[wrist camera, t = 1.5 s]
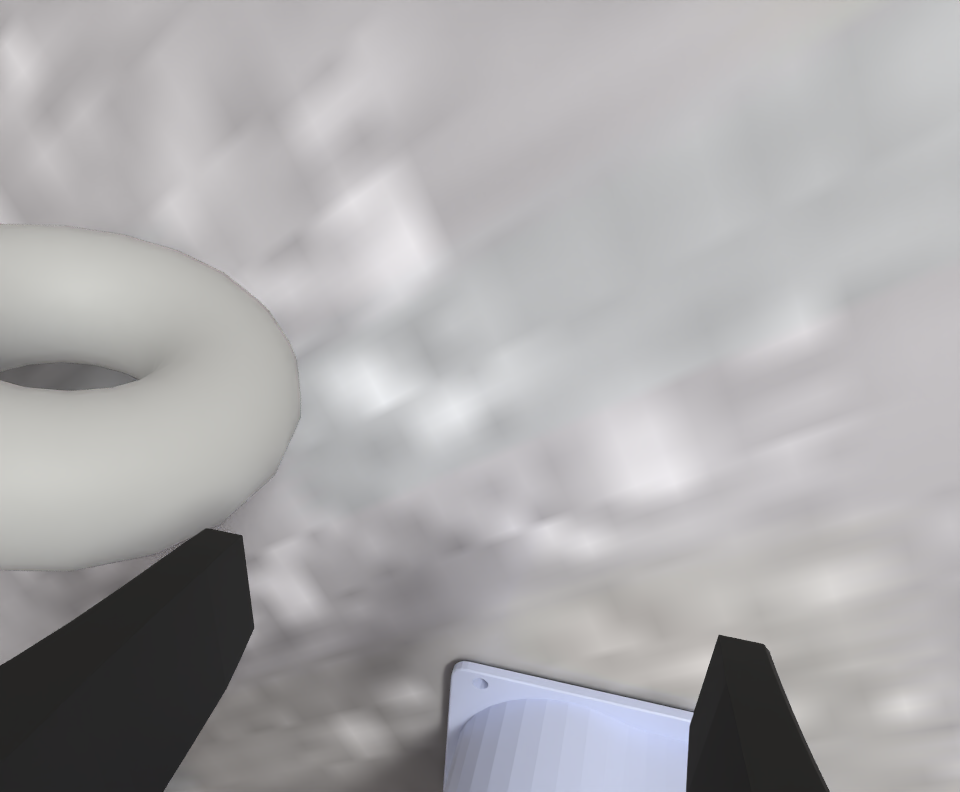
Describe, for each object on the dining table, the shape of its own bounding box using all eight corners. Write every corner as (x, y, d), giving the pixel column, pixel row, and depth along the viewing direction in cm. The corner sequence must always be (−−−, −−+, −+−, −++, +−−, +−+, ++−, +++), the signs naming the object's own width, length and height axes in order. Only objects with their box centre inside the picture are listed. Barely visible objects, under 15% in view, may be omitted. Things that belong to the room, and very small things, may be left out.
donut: (376, 295, 20) (157, 564, 12) (349, 401, 22) (145, 697, 14) (14, 157, 20) (-449, 325, 12) (19, 274, 22) (-379, 488, 14)
